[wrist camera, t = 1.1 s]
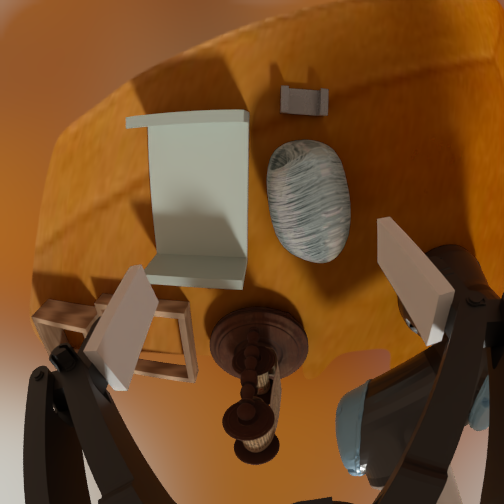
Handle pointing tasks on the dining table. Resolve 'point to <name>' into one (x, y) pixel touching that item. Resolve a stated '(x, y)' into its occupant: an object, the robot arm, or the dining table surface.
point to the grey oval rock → (309, 200)
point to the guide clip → (304, 101)
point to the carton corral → (62, 321)
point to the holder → (198, 196)
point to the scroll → (257, 374)
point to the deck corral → (183, 315)
